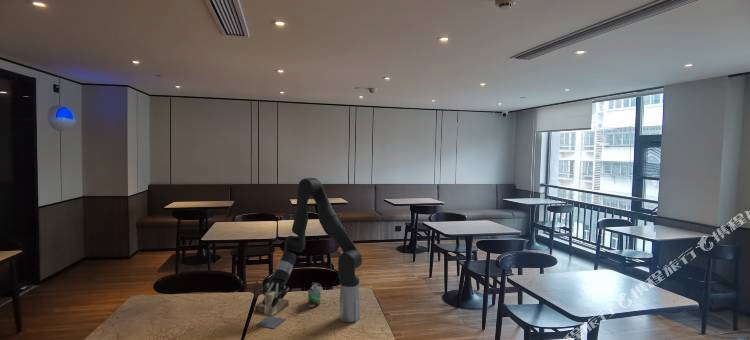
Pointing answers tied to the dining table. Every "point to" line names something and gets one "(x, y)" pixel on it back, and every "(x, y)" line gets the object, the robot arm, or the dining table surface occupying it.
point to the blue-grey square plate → (271, 322)
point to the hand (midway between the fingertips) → (268, 305)
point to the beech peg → (268, 301)
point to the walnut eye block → (280, 306)
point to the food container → (314, 295)
